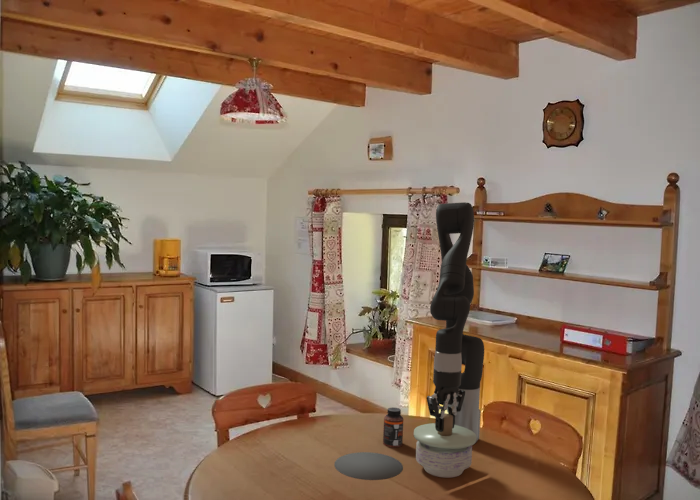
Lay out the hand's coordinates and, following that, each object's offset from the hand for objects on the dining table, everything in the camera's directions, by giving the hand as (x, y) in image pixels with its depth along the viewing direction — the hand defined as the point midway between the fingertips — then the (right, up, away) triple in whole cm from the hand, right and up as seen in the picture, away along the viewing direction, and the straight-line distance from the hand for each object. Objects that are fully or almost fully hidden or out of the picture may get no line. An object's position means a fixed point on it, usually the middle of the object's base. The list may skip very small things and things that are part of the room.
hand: (444, 429), depth 171 cm
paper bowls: (0, -12, +1) cm, 12 cm away
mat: (-21, -11, +2) cm, 24 cm away
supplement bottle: (-13, -11, +19) cm, 25 cm away
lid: (0, -2, 0) cm, 2 cm away
